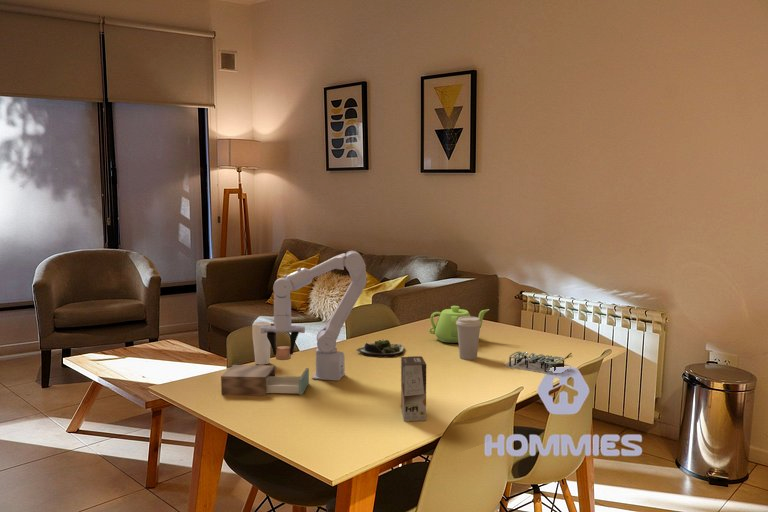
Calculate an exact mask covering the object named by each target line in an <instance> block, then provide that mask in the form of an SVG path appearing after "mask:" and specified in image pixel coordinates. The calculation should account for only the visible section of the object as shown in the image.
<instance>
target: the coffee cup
mask: <svg viewBox="0 0 768 512" xmlns="http://www.w3.org/2000/svg"><path fill="white" fill-rule="evenodd" d="M470 316H471V315H470ZM470 316H465V317H459V318H458V320H457V322H456V325H457V329H458V342H459V343H458V352H459V353H458V355H459V359H461V360H465V361H473V360H476V359H477V358H478V351H479V350H478V349H479V341H480V333H481V332H480V331H481V328H480V325H481V326H482V325H483V323H482V324H481V321H480V319H479V318H478V317H477V316H471V317H470Z"/></svg>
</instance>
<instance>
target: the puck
mask: <svg viewBox="0 0 768 512" xmlns="http://www.w3.org/2000/svg"><path fill="white" fill-rule="evenodd" d="M290 349H291V346H288V345H286V346H285V345H283V346H276V355H275V359H276V360H279V361H289V360H290V359H291V358H292V355H290Z"/></svg>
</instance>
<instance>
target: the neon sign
mask: <svg viewBox="0 0 768 512" xmlns="http://www.w3.org/2000/svg"><path fill="white" fill-rule="evenodd" d="M570 355H572V352H570V353H568V354H567V356H565V357H562V356H553V355H548V354H547V355H544V354H543V353H541V354H536V353H535V352H532V353H528V352H527V351H524V352H522V351H515V352H513V353H512V354H510V355H509V357H508V358H509V361H507V362H505V363H504V367H506V368H510V369H516V370H519V369H520V370H523V371H528V372H533V373H540V374H544V375H545V374H546V375H551V376H553V375H554V376H555V375H556V376H557V374H558V373H553V372H550V371H549V370H550V368H552V367H554V371H555V370H556V367H564V366H570V365H569V364H566V363H565V359H567V358H568V357H570ZM558 375H559V374H558Z"/></svg>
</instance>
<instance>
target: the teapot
mask: <svg viewBox="0 0 768 512" xmlns="http://www.w3.org/2000/svg"><path fill="white" fill-rule="evenodd" d="M488 311H490V309H489V308H488V309H483V310H480V311H479V313H478V317H477V318H479V319H480V321H481V324H482V325H483V319H484V316H485V314H486V313H487V312H488ZM436 315H439V316H438V318H437V321H436V323H435V321H434V317H435V316H436ZM465 316H470V317H472V316H471V314H470V312H469V311H468V310H467V309H463V308H462V309H461V308H460V306H459V305H451V306H450V308H446V309H443V310H442V311H441V312H440V311H434V312H433V313H431V315H430V319H429V320H430V323H431V325H432V326H431V327H430V328H429V329H428V331H429V334H432V335H435V336H436V338H437V340H438V341H439V342H443V343H453V344H459V342H458V329H457V325H456V322H457V320H458V318H459V317H465ZM482 325H480V329H481V327H482Z"/></svg>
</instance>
